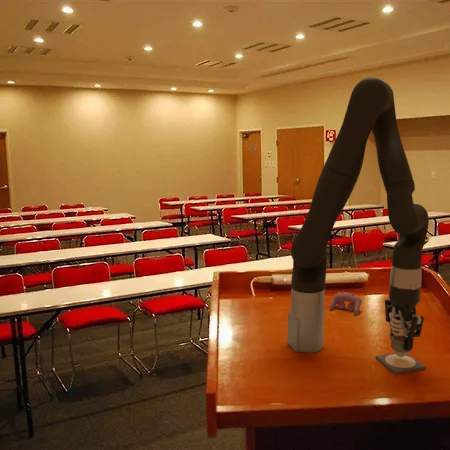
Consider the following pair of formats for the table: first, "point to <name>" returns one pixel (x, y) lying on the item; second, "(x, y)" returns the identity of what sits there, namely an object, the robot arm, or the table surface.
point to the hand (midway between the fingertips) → (401, 344)
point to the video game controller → (348, 297)
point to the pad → (400, 363)
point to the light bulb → (398, 337)
